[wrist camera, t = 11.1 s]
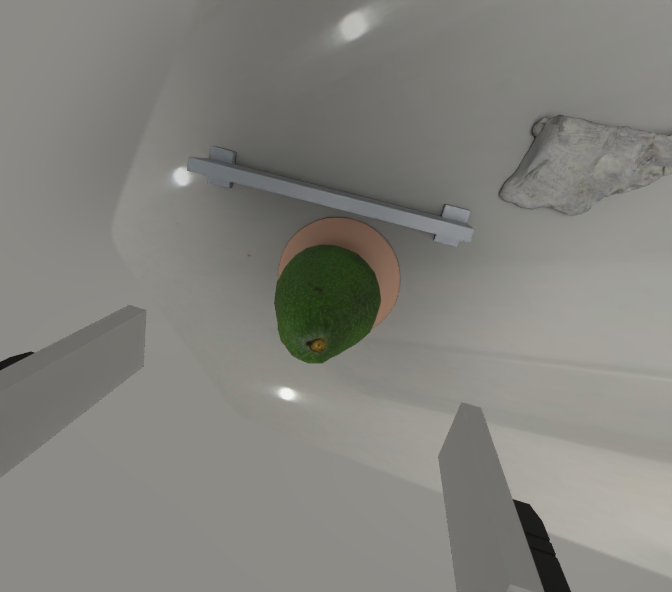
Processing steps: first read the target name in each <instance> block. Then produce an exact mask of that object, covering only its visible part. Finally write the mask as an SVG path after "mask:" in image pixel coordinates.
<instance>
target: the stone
mask: <svg viewBox="0 0 672 592" xmlns="http://www.w3.org/2000/svg"><path fill="white" fill-rule="evenodd" d="M533 134H534V135H535V136H536V139H535V141H534V143H533V144H532V146H531V148H530V150H529V151H528V153H527V154H526V156H525V157H524V158H523V160H522V162H521V164H520V165H519V167H518V169H517V170H516V171H515V173H514V174H513V175H512V176H511V177H510V178H509V179H508V180H507V181H506V183H505V184H504V185H503V188H502V190H501V192H500V197H501V198H502V199H503V200H505V201H507V202H513V203H515V204H517V205H518V206H519V207H522V208H528V209H534V208H540V207H551V208H553V209H556V210H558V211H561V212H564V213H567V214H569V215H570V216H575V215H579V214H582V213H584V212H586V211H588V210H589V209H590V208H591V206H592V205H593V204H594V203H595V202H598V201H600V200H601V199H602V198H603V197H607V196H609V195H612V194H615V193H618V194H620V193H626V192H629V191H631V190H634V189H638V188H640V187H645V186H647V185H649V184H651V183H652V182H654V181H656V180H658V179H659V177H661V176H665V175H669V174H671V173H672V135H669V136H666V135H664V134H656V133H652V132H645V131H642V130H634V129H632V128H629V127H627V126H626V127H610V126H606V125H602V124H597V123H593V122H590V121H587V120H584V119H578V118H571V117H567V116H563V115H557V116H556V117H554V118H552V119H549V118H542V119H540V120H539V122H538V123H537V124H536V125H535V126H534V129H533Z"/></svg>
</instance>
